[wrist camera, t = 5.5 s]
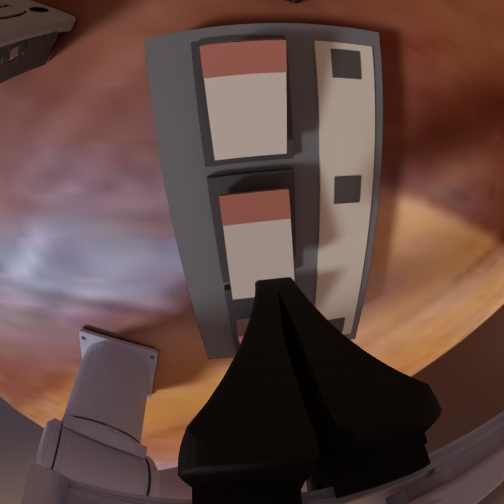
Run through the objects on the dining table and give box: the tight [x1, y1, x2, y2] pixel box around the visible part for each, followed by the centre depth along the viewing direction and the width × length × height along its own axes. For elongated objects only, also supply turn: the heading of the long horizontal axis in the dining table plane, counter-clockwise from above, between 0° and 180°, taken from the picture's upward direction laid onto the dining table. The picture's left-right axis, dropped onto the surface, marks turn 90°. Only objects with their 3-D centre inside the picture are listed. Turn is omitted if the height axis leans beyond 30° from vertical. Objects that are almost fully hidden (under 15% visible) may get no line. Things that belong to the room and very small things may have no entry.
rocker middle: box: [219, 188, 295, 300], centre depth 15 cm, size 5×3×2 cm, turn 6°
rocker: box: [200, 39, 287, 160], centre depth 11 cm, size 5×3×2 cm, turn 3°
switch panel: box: [144, 23, 383, 359], centre depth 17 cm, size 22×12×4 cm, turn 5°
